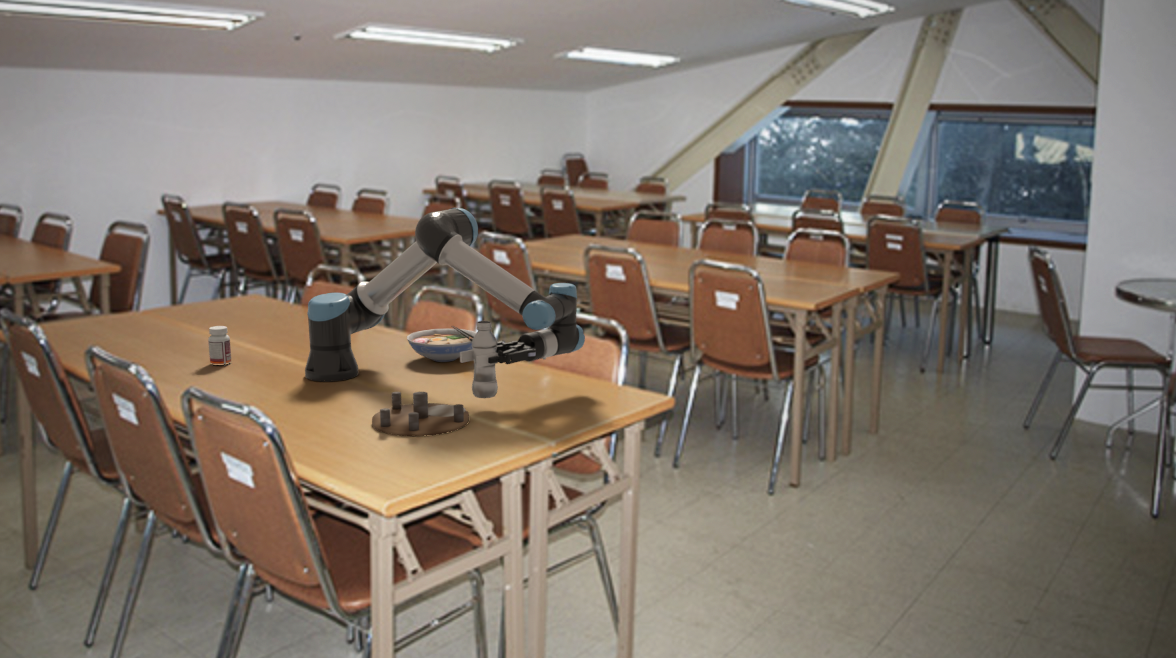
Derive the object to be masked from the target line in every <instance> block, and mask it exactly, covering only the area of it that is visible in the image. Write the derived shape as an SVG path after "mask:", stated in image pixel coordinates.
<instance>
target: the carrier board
mask: <svg viewBox="0 0 1176 658" xmlns="http://www.w3.org/2000/svg"><path fill="white" fill-rule="evenodd" d="M428 395H429V394H428V392H427V391H415V392H413V393H412V402H413V403H407V404H402V392H401V391H393V392H391V407H388V408H381V409H379V411H377V412H376V413H375V414H373V416H372V417H371V423H372V424H371V425H372V427H373V429H374V430H375V431H378V432H380V433H383V434H387V435H392V436H397V435H399V437H428V436H427V435H432V436H437V435H436V434H439V435H443V434H442V433H444V434H448V433H447V432H449V433H452V432H455V430H456V431H458V430H461V429H462V427H463V428H465V425H466V426H467V425H468V424H469V423H468V422H470V412H468V410H466V408H465V407H464V404H461V403H455V404H448V403H447V404H446V403H435V402H429V398H428V397H429V396H428ZM467 423H468V424H467ZM460 428H461V429H460ZM457 429H458V430H457ZM451 431H452V432H451ZM424 435H426V436H424Z"/></svg>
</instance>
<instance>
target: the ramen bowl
mask: <svg viewBox="0 0 1176 658" xmlns="http://www.w3.org/2000/svg"><path fill="white" fill-rule="evenodd" d="M477 332H478V331H477ZM477 332H476V331H474V330H468V329H465V328H464V329H463V328H459V327H457V326H454V325H451V328H433V329H427V330H426V329H425V330H420V331H419V330H418V331H414V332H411V333H410V334H407V336H406V341H407V342H408V344H409V345H410V347H411V348H412V349H413V350H414V352H415V353H417V354H418V355H419V356H421V357H424V358H427V359H429V360H431V361H434V362H438V363H447V362H453V361H456V360H457V359H460V352H463V351H468V350H473V349H472V340H473V338H474V336H475V335H476V333H477Z"/></svg>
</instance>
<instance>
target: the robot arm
mask: <svg viewBox="0 0 1176 658" xmlns="http://www.w3.org/2000/svg"><path fill="white" fill-rule="evenodd" d="M414 230H415V231H414V237H415V241H414V242H413V243H412V244H411V245H410V246H409V247H407V249H405V250H404V251H403V252H402V253H401V254H400V255H398V256H397V257H396V258H395V259H394V260H393V261H391V262H390V263H389V264H388V265H387V266H386V267H384V268H383V269H382V270H381V271H380V272H379V273H377V274H376V275H375V276H374V277H373V278H372V279H371V280H370V281H361V282H360V283H358V284H357V285H356V286H355V287H354V288H353V289H352V290H351V291H349V292H347V293H343V292H329V293H322V294H318V295H316V296H313V297H312V298H311V299H310V300H309V301H308V303H307V313H306V314H307V321H308V322H307V323H308V333H309V335H308V336H309V354H308V357H307V361H306V364H305V368H304V374H305V375H304V377H305V379H307V380H309V381H314V382H339V381H346V380H350V379H353V378H355V377H357V376H358V375H359V373H360V372H359V365H358V363H357V360H356V357H355V354H354V351H353V350H352V334H356V333H359V332H362V331H365V330H370V329H372V328H374V327H376V326H377V325H379V324H380V323H381V322H382V320H384V317H385V315H386V313H388V311H389V308H390V307H389V306H390V305H389V304H390V303H391V302H393V301H394V300H395V299H396V298H397V297H398V296H400V295H401V294H402V293H403V292H404V291H406V290H407V289H408V288H409V287H410V286H412V285H413V284H414V283H415V282H416V281H418V280H419V279H420V278H421V277H422V276H423V275H425V274H426V273H427V272H428V271H429V270H431V268H432V267H434V266H435V265H436V264H439V265H440V266H448V267H450V268H451V269H453V270H454V271H456V272H457V273H459V274H460V275H461V276H462V277H465V278H466V279H468V280H469V281H471V282H472V283H474V284H475V285H476V286H478V287H479V288H481V289H482V290H483V291H485V292H487V293H488V294H490V295H491V296H492V297H494V298H496V299H497V300H498V301H500V302H502V304H504V305H506V306H507V307H509V308H510V309H512V310H513V311H515V312H516V313H518V314H519V315H521V316H522V320H523V323H524V324H525V325H526V326H527V328H529V329H530V330H535V331H533V332H527V333H523V334H522V335H520V336H519V338H518V339H517V340H512V341H510V342H506V340H503V339H502V340H500V341H497V351H496V353H491V354H486V355H481V356H477V357H476V367H483V366H487V365H492V364H495V365H496V364H505V365H512V364H515V363H519V362H525V361H526V362H533V361H538V360H540V359H542V360H543V361H544V360H547V358H549V357H550V358H551V357H555V356H559V355H566V354H571V353H574V352H576V351H580V350H581V348H583V346H584V345H585V341H586V335H585V334H584V330H583V327H581V326H580V325H578V324H577V312H578V310H577V308H578V307H577V304H578V303H577V302H578V301H577V300H578V295H577V293H578V292H577V286H576V285H574V284H573V283H568V282H567V283H566V282H558V283H553V284H550V285H549V290H548V295H547V296H544V295H543V294H541V293H539V291H536V289H534V288H533V287H531V286H529V285H528V284H527V283H525V282H524V281H522V280H521V279H519V278H517V276H514V275H513V274H511V273H510V272H509V271H507V270H505V268H503V267H501V266H500V265H498V264H497V263H495V261H493V260H491V259H490V258H488V257H487V256H485V255H483V254H482V253H481V252H479V251H477V250H476V249H475V248H474V247H471V246H472V245H473V244H475V242H476V241H477V239H478V235H479V226H478V222H477V220H476V218H475V217H474V215H473V214H472V213H471V212H470V211H468V210H467V209H464V208H461V207H452V208H448V209H445V210H444V209H443V210H439V211H432V212H428V213H426V214H425V215H423V216H422V217H421V218H420V219H419V220H418V221H417V223H416V226H415V229H414ZM459 362H460V363H466V362H467V363H468V362H474V356H473V350H468V351H463V352H460V358H459Z"/></svg>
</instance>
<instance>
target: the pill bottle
mask: <svg viewBox="0 0 1176 658" xmlns="http://www.w3.org/2000/svg"><path fill="white" fill-rule="evenodd" d="M208 329H209V330H208V331H209V333H208V334H209V335H210V336H209V337H208V339H207V341H208V352H209V353H208V354H209V363H212V364H226V363H230V362H231V363H232V353H231V352H232V351H231V348H232V347H231V337H230V335H228V327H227V326H224V325H216V326H215V325H214V326H210V327H209V328H208ZM231 363H230V364H231Z"/></svg>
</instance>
